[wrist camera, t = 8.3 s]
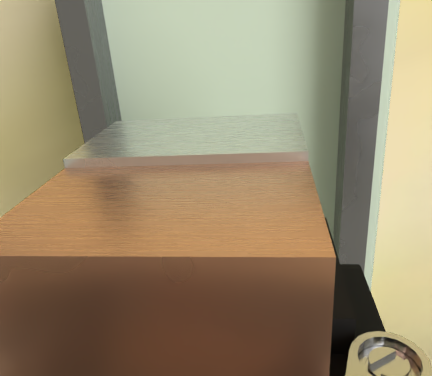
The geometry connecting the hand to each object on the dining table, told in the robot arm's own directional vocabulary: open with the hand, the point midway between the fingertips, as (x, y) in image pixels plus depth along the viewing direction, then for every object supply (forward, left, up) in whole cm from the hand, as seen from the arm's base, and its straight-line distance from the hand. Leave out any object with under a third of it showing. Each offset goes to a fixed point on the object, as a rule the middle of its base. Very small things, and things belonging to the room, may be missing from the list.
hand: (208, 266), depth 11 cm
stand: (0, 0, -9) cm, 9 cm away
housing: (0, 0, -1) cm, 1 cm away
